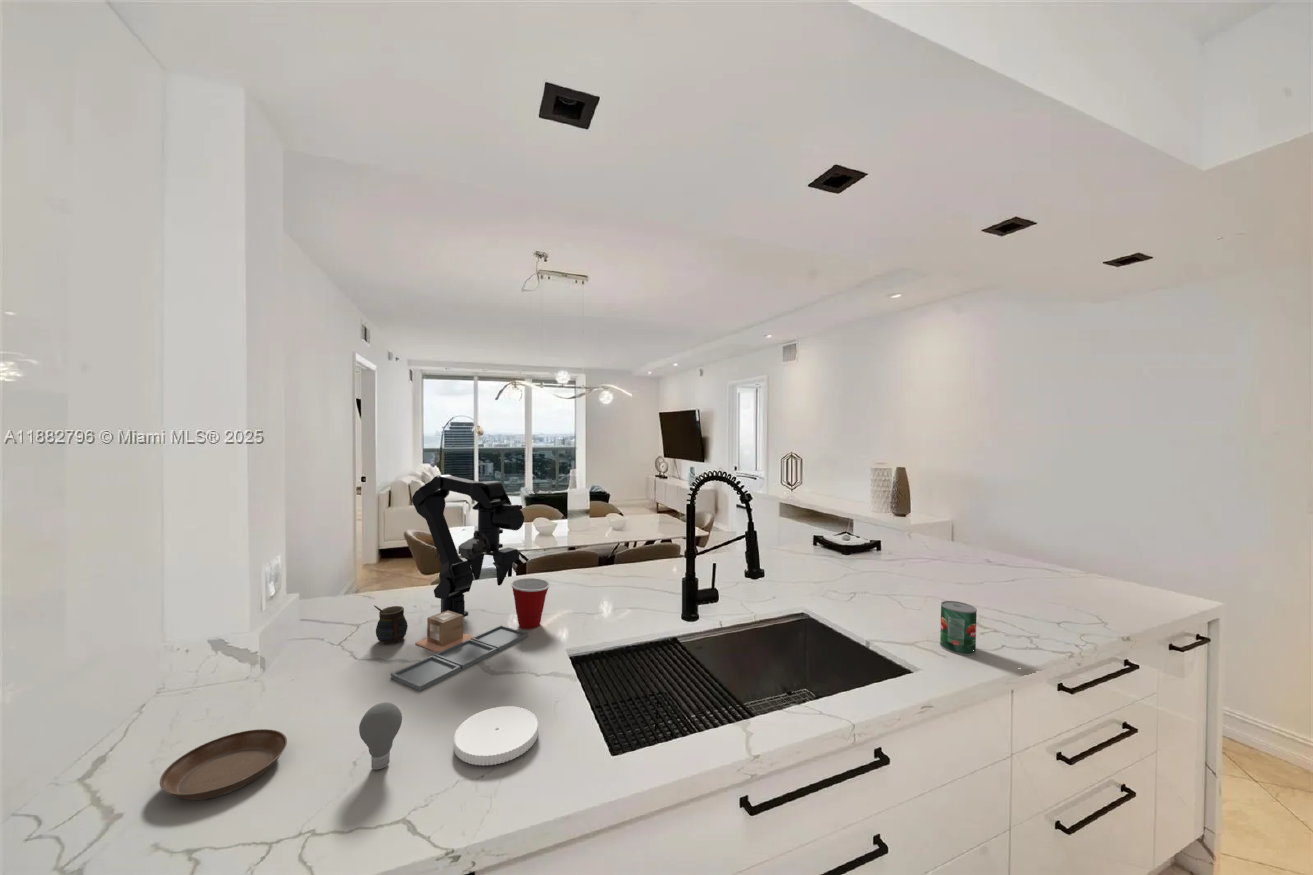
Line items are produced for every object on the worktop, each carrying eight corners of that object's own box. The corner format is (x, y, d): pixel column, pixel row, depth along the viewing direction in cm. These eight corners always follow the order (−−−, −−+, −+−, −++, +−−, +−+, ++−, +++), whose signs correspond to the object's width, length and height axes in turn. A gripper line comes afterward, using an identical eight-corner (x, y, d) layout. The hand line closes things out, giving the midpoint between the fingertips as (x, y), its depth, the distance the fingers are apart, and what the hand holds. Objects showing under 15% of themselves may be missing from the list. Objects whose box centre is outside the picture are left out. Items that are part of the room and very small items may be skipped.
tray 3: (470, 642, 122) (470, 638, 122) (501, 628, 131) (501, 624, 131) (498, 651, 117) (498, 647, 117) (527, 636, 126) (527, 632, 126)
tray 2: (434, 658, 113) (434, 654, 113) (469, 642, 122) (469, 639, 122) (462, 669, 108) (462, 665, 108) (496, 652, 117) (496, 648, 117)
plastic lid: (539, 762, 79) (540, 747, 79) (448, 778, 75) (448, 763, 75) (536, 714, 92) (536, 701, 92) (458, 726, 88) (458, 712, 88)
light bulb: (370, 754, 80) (371, 695, 80) (407, 753, 80) (408, 694, 80) (350, 781, 74) (351, 717, 74) (391, 779, 74) (391, 715, 74)
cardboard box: (426, 641, 121) (427, 617, 121) (447, 632, 127) (448, 610, 127) (442, 646, 119) (442, 622, 118) (462, 637, 124) (463, 614, 124)
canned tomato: (981, 657, 119) (982, 613, 119) (946, 653, 121) (948, 610, 120) (967, 643, 127) (968, 602, 127) (935, 640, 128) (936, 599, 128)
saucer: (307, 741, 83) (307, 726, 83) (242, 809, 68) (242, 790, 68) (215, 745, 82) (215, 729, 82) (128, 815, 67) (128, 796, 67)
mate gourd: (412, 640, 123) (412, 602, 123) (379, 650, 117) (379, 610, 117) (402, 631, 128) (401, 594, 128) (370, 641, 122) (370, 602, 122)
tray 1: (391, 678, 104) (391, 673, 104) (432, 659, 113) (432, 655, 113) (419, 691, 99) (419, 686, 99) (460, 670, 108) (460, 666, 108)
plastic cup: (549, 631, 130) (550, 587, 129) (508, 634, 127) (508, 589, 127) (550, 616, 140) (550, 575, 140) (512, 618, 138) (512, 577, 138)
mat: (415, 644, 121) (415, 642, 121) (449, 630, 129) (449, 628, 129) (440, 653, 116) (440, 651, 116) (474, 638, 125) (474, 636, 125)
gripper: (441, 527, 131) (441, 584, 131) (488, 536, 121) (487, 597, 121) (475, 521, 140) (474, 573, 140) (521, 528, 131) (520, 585, 131)
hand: (488, 582), depth 133 cm, fingers open, 9 cm apart
